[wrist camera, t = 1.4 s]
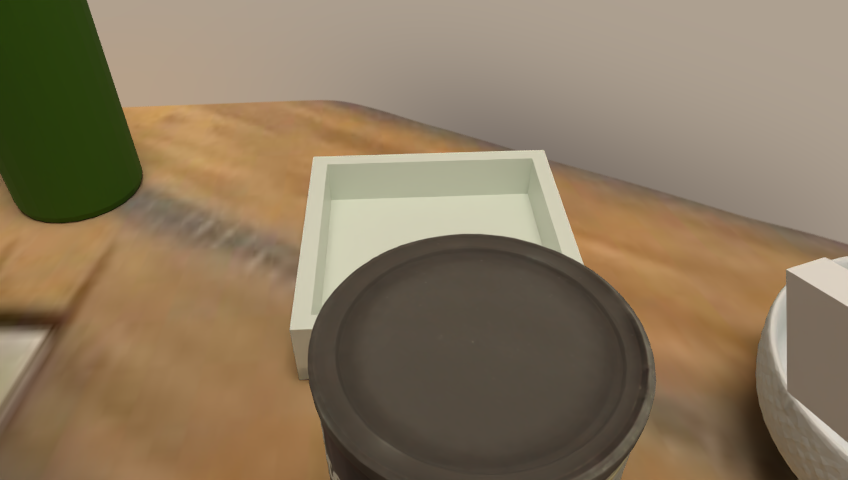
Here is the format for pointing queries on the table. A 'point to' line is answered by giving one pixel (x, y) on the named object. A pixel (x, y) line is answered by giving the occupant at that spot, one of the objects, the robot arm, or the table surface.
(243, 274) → the table surface
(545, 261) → the coffee can
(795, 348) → the robot arm
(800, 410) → the cereal bowl
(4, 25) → the wine bottle
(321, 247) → the tray
